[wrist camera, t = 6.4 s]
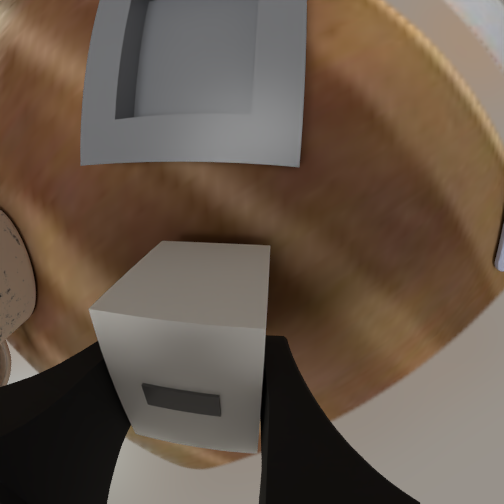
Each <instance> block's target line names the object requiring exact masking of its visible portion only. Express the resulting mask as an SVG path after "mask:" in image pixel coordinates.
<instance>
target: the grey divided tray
mask: <svg viewBox="0 0 504 504" xmlns="http://www.w3.org/2000/svg"><path fill="white" fill-rule="evenodd" d="M306 23H307V0H100V2H99V6H98V10H97V14H96V18H95V22H94V27H93V31H92V36H91V41H90V47H89V53H88V59H87V66H86V73H85V81H84V91H83V102H82V117H81V166H82V165H95V164H110V163H130V162H175V161H182V162H228V163H249V164H265V165H279V166H290V167H299V165H300V152H301V138H302V122H303V105H304V86H305V61H306Z"/></svg>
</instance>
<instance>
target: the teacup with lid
mask: <svg viewBox="0 0 504 504" xmlns="http://www.w3.org/2000/svg"><path fill="white" fill-rule="evenodd" d="M35 301H36V287H35V279H34V274H33V270H32V266H31V262H30V259H29V256H28V253H27V251H26V248H25V246H24V243H23V241H22V239H21V237H20V235H19V233H18V231H17V229H16V228H15V226H14V225H13V223H12V222H11V220H10V219H9V218H8V217H7V215H6V214H5V213H4V212H3V211H1V210H0V387H1V386H5V385H7V383H8V380H9V376H10V371H11V356H10V351H9V348H8V345H7V342H6V340H5V339H6V338H7V337H8V336H9V335H11V334H12V333H13V332H14V331H15V330H16V329H17V328H18V327H19V326H20V325H21V324H23V323H24V322H25V321H26V320H27V319H28V318H29V317H30V316H31V314H32V312H33V310H34V307H35Z"/></svg>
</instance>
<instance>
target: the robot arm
mask: <svg viewBox="0 0 504 504" xmlns="http://www.w3.org/2000/svg"><path fill="white" fill-rule="evenodd" d="M495 267H496V269H498V270H499V271H504V223H503V228H502V233H501V238H500V242H499V247H498V251H497V255H496V259H495ZM260 421H261V453H262V473H261V485H260V496H259V504H420V502H418V501H417V500H415V499H413V498H412V497H411V496H409V495H408V494H406V493H405V492H403V491H402V490H400V489H399V488H398V487H396V486H395V485H393V484H392V483H391V482H389V481H388V480H387V479H386V478H384V477H383V476H382V475H381V474H380V473H379V472H377V471H376V470H375V469H374V468H373V467H372V466H371V465H370V464H368V463H367V462H366V461H365V460H364V459H363V458H362V457H361V456H360V455H359V454H358V453H357V452H356V451H355V450H354V449H353V448H352V447H351V446H350V445H349V443H348V442H347V441H346V440H345V439H344V438H343V436H342V435H341V434H340V433H339V432H338V431H337V430H336V428H335V427H334V426H333V424H332V423H331V422H330V420H329V419H328V418H327V416H326V415H325V413H324V412H323V410H322V409H321V408H320V406H319V404H318V403H317V401H316V400H315V398H314V397H313V395H312V393H311V392H310V390H309V388H308V386H307V385H306V383H305V381H304V379H303V377H302V375H301V373H300V371H299V369H298V367H297V365H296V363H295V360H294V358H293V356H292V353H291V351H290V348H289V345H288V341H287V339H286V338H285V337H284V336H268V335H266V337H265V353H264V368H263V383H262V397H261V411H260ZM130 426H131V423H130V421H129V419H128V417H127V414H126V412H125V410H124V408H123V406H122V403H121V401H120V399H119V396H118V394H117V391H116V389H115V386H114V384H113V381H112V379H111V376H110V374H109V371H108V368H107V365H106V363H105V360H104V357H103V354H102V351H101V348H100V345H99V342H98V341H97V342H95V343H94V344H92V345H91V346H89V347H87V348H86V349H84V350H83V351H81V352H79V353H77V354H76V355H74V356H72V357H70V358H69V359H67V360H65V361H63V362H62V363H60V364H58V365H56V366H54V367H52V368H50V369H48V370H46V371H44V372H41V373H39V374H37V375H35V376H32V377H29V378H27V379H24V380H21V381H18V382H15V383H12V384H9V385H5V386H1V387H0V504H107V500H108V494H109V488H110V484H111V480H112V476H113V472H114V468H115V465H116V462H117V458H118V455H119V452H120V449H121V446H122V443H123V441H124V438H125V436H126V434H127V432H128V430H129V428H130Z"/></svg>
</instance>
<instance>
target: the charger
mask: <svg viewBox="0 0 504 504" xmlns="http://www.w3.org/2000/svg"><path fill="white" fill-rule="evenodd" d="M269 265H270V245H249V244H227V243H204V242H179V241H161V242H160V243H159V244H158V245H157V246H156V247H155V248H153V249H152V250H151V251H150V252H149V253H148V254H147V255H146V256H144V257H143V258H142V259H141V260H140V261H139V262H138V263H137V264H136V265H134V266H133V267H132V268H131V269H130V270H129V271H128V272H127V273H126V274H125V275H123V276H122V277H121V278H120V279H119V280H118V281H117V282H116V283H115V284H114V285H113V286H112V287H111V288H110V289H109V290H108V291H106V292H105V293H104V294H103V295H102V296H101V297H100V298H99V299H98V300H97V301H96V302H95V303H94V304H93V305H92V306H91V307H90V308H89V311H90V315H91V319H92V322H93V326H94V329H95V332H96V336H97V339H98V342H99V345H100V348H101V351H102V354H103V357H104V360H105V363H106V365H107V368H108V371H109V374H110V376H111V379H112V381H113V384H114V386H115V389H116V391H117V394H118V396H119V399H120V401H121V403H122V406H123V408H124V410H125V412H126V414H127V417H128V419H129V421H130V423H131V425H132V427H133V429H134V431H135V433H136V434H139V435H142V436H146V437H150V438H155V439H159V440H163V441H168V442H173V443H178V444H183V445H188V446H194V447H201V448H207V449H215V450H223V451H232V452H243V453H257V449H258V436H259V424H260V411H261V397H262V383H263V368H264V353H265V337H266V320H267V303H268V284H269Z"/></svg>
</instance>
